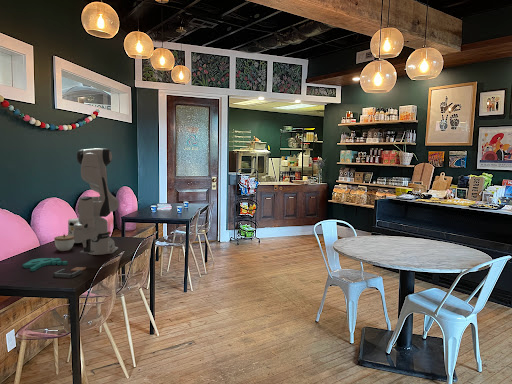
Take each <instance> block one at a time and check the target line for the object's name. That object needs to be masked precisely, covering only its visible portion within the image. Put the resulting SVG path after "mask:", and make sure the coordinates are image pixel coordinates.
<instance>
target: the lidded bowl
mask: <svg viewBox="0 0 512 384" xmlns="http://www.w3.org/2000/svg"><path fill="white" fill-rule="evenodd" d="M53 239H54V246H55V248H56V249H57V250H58V251H59V252H65V251H71V249H72V248H73V246H74V245H75V244H74V236H70V235H68V234H65V233H64V234H62V235H58V236H55V237H54V238H53Z"/></svg>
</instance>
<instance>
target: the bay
mask: <svg viewBox="0 0 512 384" xmlns="http://www.w3.org/2000/svg"><path fill="white" fill-rule="evenodd" d="M82 272H83V271H82V270H78V271H73V272H72V273H66V268H62V269H60V270H57V271H54V272H53V273H52V277H53V278H67V279H73V278H74V277H77V276H79V275H81V274H82Z"/></svg>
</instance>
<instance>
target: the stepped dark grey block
mask: <svg viewBox="0 0 512 384" xmlns="http://www.w3.org/2000/svg"><path fill="white" fill-rule="evenodd" d="M86 244H87V247H83V250H80V251H79V254H88V253H93V252H94V251H92V250H91V242H90V239H87V240H86Z"/></svg>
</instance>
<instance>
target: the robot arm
mask: <svg viewBox="0 0 512 384" xmlns="http://www.w3.org/2000/svg"><path fill="white" fill-rule="evenodd" d="M112 154H113V153H112V151H111V149H109V148H105V147H104V148H100V147H98V148H95V147H94V148H86V149H85V148H81V149H79V150H78V151H77V152H76V160H77V162H78V164H80V177H81V179H82V180H83V181H84V182H86V183H87V184H89V188H90V190H92V191H94V193H95V192H96V193H98V194H99V196H89V195H87V196H81V197H80V198H79V200H78V202H77V214H78V222H77V223H76V224H74V226H73V228H74V240H75V242H81V241H82V247H83V248H84V247H87V244H86V240H87V239H90V242H91V250H92V251H94V252H93V253H87V254H89V255H96V256H99V255H100V256H101V255H107V254H108V255H110V254H113V253H115V252H116V251H118V250H119V247H118V246H115V243H116V242H115V241H114V240H113V238H111V237H110V235H111V234H112V231H108V229H109V228H108V227H109V223H108V220H107V219H106V218H107V217H108V216H109V215H110V214H111V212H116V211H117V210H118V209H119V205H120V203H119V199H118V198H117V197H115V196H114V195H113V194H112V193H111V191H110V190H109V187H108V174H107V168H106V167H107V166H108V165H109V164H111V162H112V159H113V155H112Z"/></svg>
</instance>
